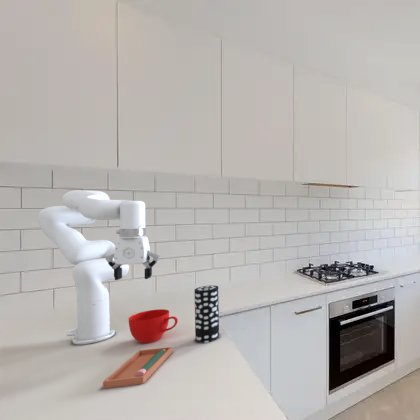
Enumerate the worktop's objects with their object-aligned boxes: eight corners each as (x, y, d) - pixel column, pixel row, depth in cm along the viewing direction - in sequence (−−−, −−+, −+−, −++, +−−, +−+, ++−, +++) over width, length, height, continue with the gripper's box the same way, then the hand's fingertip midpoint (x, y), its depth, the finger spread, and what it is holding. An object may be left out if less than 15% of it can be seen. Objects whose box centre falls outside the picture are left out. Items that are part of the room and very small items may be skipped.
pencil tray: (102, 388, 89) (102, 381, 89) (139, 355, 109) (139, 350, 109) (143, 383, 91) (143, 376, 91) (172, 352, 111) (171, 346, 111)
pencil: (133, 374, 92) (137, 380, 92) (141, 369, 93) (145, 376, 93) (158, 349, 108) (161, 355, 108) (165, 346, 108) (168, 352, 109)
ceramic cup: (167, 346, 116) (167, 319, 116) (120, 348, 115) (119, 321, 115) (186, 332, 129) (185, 308, 129) (144, 333, 128) (143, 309, 128)
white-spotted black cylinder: (194, 344, 117) (193, 292, 117) (196, 336, 125) (195, 286, 124) (218, 340, 120) (217, 289, 120) (219, 332, 128) (219, 284, 128)
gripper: (99, 234, 110) (99, 282, 111) (154, 234, 114) (154, 280, 114) (112, 232, 118) (112, 277, 118) (163, 232, 121) (163, 275, 121)
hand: (133, 278), depth 116 cm, fingers open, 9 cm apart
